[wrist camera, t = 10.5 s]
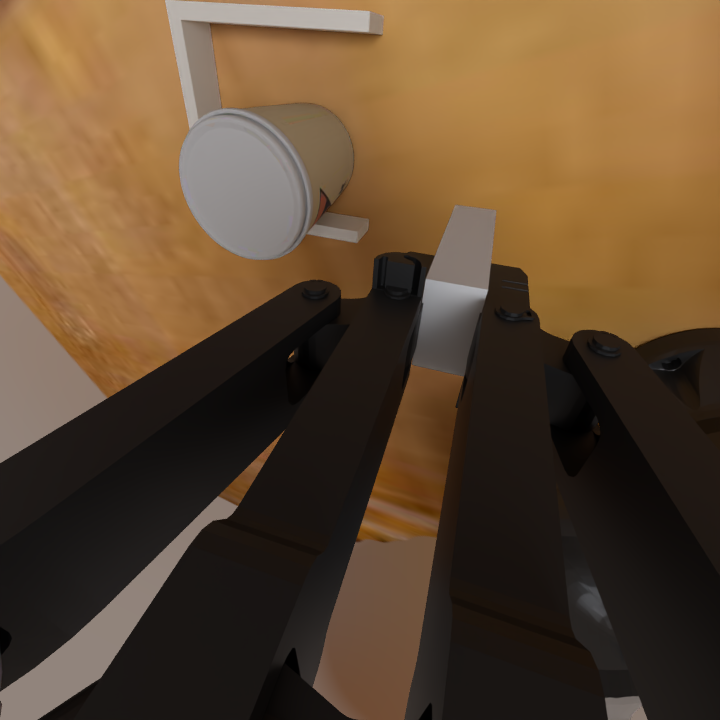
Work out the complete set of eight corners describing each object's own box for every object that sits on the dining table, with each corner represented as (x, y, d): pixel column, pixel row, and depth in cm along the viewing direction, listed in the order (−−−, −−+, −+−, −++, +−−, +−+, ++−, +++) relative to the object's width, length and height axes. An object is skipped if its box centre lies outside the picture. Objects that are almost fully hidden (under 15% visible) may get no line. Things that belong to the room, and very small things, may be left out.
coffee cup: (301, 225, 38) (235, 281, 29) (244, 128, 34) (147, 158, 25) (382, 183, 33) (332, 234, 24) (327, 63, 29) (243, 73, 20)
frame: (368, 229, 36) (357, 243, 33) (226, 205, 39) (206, 216, 36) (383, 15, 27) (369, 11, 24) (195, 5, 30) (164, -1, 27)
